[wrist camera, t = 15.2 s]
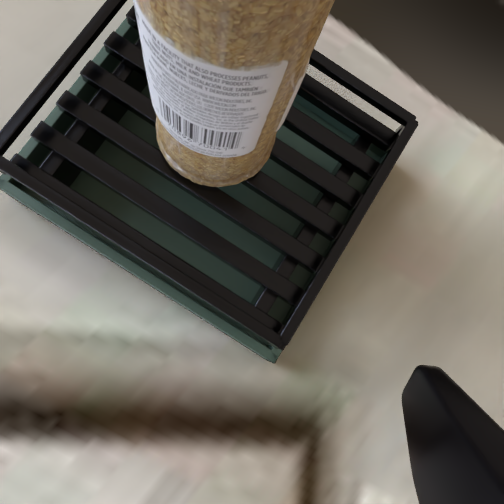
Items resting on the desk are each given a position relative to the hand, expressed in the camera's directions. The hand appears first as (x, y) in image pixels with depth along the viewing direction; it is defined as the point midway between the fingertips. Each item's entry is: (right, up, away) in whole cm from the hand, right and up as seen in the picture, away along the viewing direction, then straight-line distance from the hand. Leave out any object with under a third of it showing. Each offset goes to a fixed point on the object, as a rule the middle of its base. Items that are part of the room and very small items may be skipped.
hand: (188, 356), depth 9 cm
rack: (-1, +5, +12) cm, 13 cm away
